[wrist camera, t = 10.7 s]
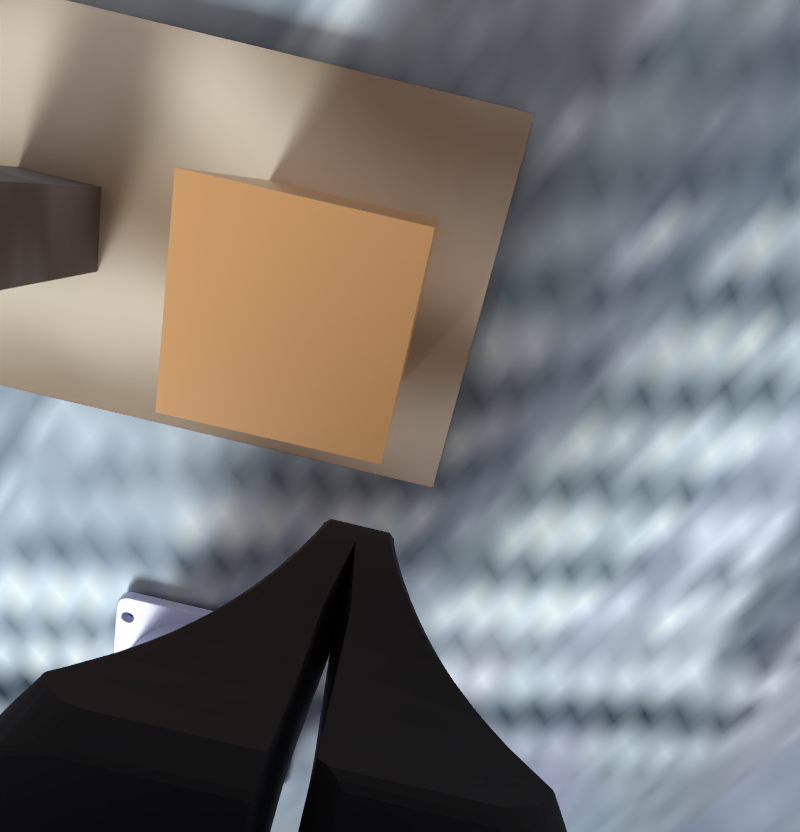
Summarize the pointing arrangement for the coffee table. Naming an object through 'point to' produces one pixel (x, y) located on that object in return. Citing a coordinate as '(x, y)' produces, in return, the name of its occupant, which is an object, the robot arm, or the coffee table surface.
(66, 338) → the post board
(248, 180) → the orange rectangular block
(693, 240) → the coffee table surface
